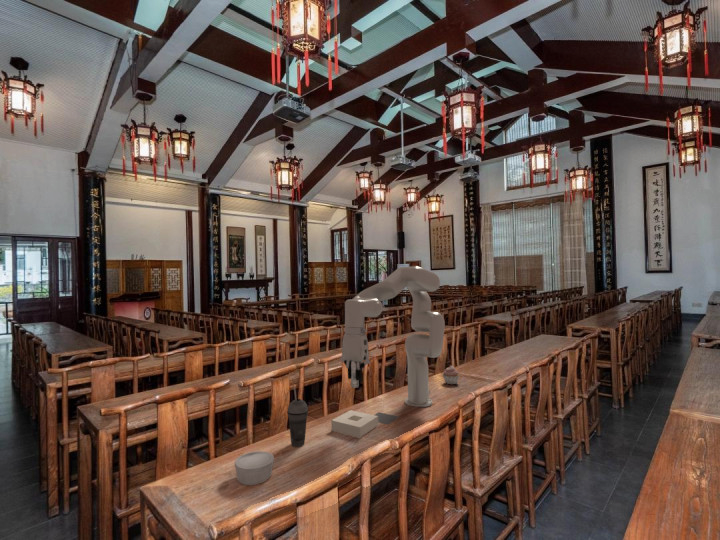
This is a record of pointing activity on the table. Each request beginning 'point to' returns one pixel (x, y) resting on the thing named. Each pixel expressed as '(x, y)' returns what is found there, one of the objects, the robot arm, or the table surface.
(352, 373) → the peg
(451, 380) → the cupcake
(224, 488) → the table surface
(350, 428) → the hole block
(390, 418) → the mat
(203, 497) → the table surface
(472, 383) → the table surface
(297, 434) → the beverage cup
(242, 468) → the ramekin
